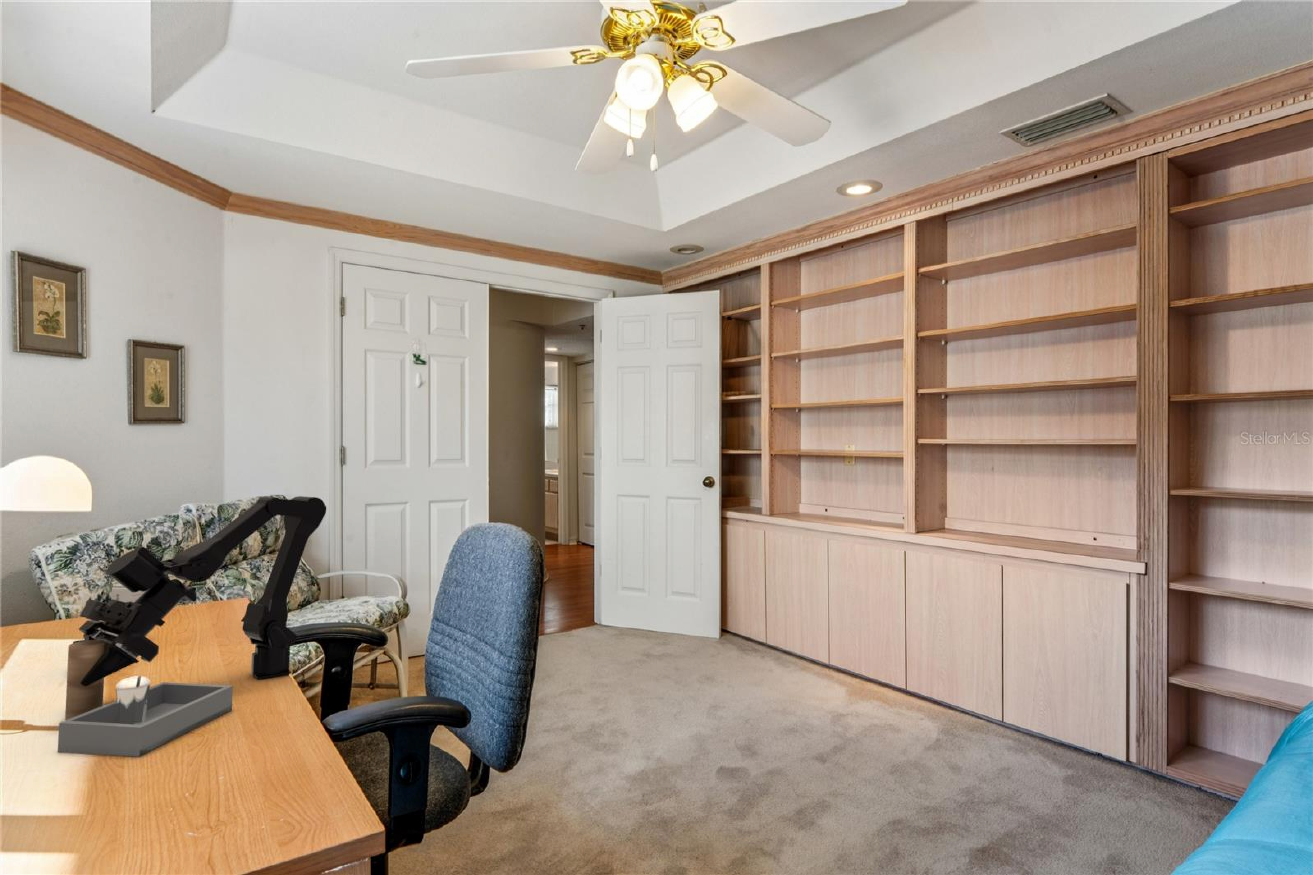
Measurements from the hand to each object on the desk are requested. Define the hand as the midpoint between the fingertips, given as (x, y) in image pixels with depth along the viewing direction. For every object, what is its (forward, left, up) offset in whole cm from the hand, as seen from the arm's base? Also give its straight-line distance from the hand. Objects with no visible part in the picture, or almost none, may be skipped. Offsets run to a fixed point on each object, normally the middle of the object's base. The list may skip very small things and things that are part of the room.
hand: (75, 682), depth 116 cm
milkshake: (-8, +14, -7) cm, 17 cm away
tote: (-10, +10, -7) cm, 16 cm away
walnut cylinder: (-1, 0, -7) cm, 7 cm away
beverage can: (-8, -59, -8) cm, 60 cm away
